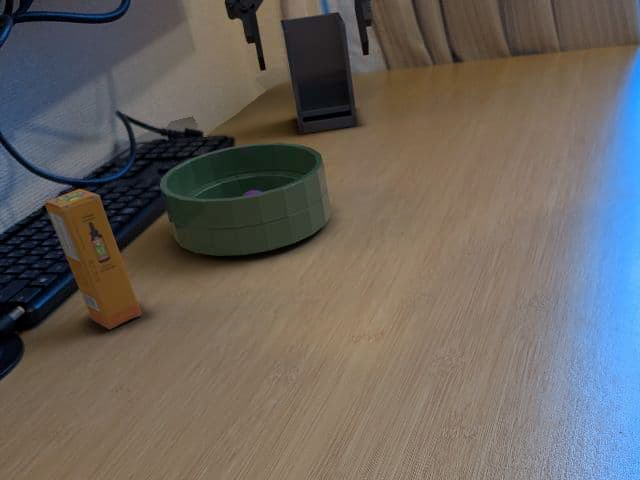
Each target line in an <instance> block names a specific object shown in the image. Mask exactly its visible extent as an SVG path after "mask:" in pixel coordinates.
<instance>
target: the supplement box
mask: <svg viewBox="0 0 640 480" xmlns="http://www.w3.org/2000/svg"><path fill="white" fill-rule="evenodd" d="M44 206H45V208H46V212H47V214H48V216H49V219H50V221H51V223H52V226H53V228H54V230H55V233H56V236H57V238H58V241H59V243H60V245H61V248H62V250H63V252H64V255H65V257H66V260H67V262H68V265H69V268H70V270H71V272H72V275H73V277H74V279H75V282H76V284H77V287H78V289H79V292H80V295H81V297H82V299H83V301H84V303H85V305H86V308H87V311H88V313H89V315H90V318H91V320H92V321H93V322H95V323H97V324H98V325H101V326H102V327H103V328H106V329H108V330H112V329H114V328H116V327H118V326H120V325H122V324H123V323H126V322H128V321H130V320H133V319H135V318H138V317H140V316H142V310H141V308H140V306H139V303H138V299H137V297H136V294H135V292H134V288H133V286H132V283H131V280H130V277H129V275H128V271H127V269H126V267H125V263H124V261H123V258H122V255H121V253H120V249H119V247H118V244H117V241H116V238H115V236H114V232H113V230H112V227H111V225H110V222H109V220H108V216H107V214H106V211H105V207H104V205H103V203H102V199H101V196H100V194H97V193H94V192H91V191H88V190H85V189H82V188H78V189H75V190H72V191H70V192H67V193H65V194H62V195H59V196H57V197H54V198H51V199H49V200H46V201H45V202H44Z"/></svg>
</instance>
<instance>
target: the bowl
mask: <svg viewBox="0 0 640 480" xmlns="http://www.w3.org/2000/svg"><path fill="white" fill-rule="evenodd" d="M159 190H160V194H161V197H162V200H163V204H164V207H165V210H166V213H167V218H168V222H169V224H170V228H171V231H172V235H173V238H174V240H175V241H176V242H177V244H178V245H179V246H180V247H181V248H182V249H185V250H187V251H190V252H192V253H195V254H200V255H206V256H208V255H209V256H215V257H218V256H219V257H221V256H225V257H226V256H245V255H246V256H247V255H253V254H259V253H265V252H270V251H273V250H277V249H281V248H284V247H287V246H290V245H292V244H295V243H297V242H300V241H301V240H304V239H306V238H308V237H310V236H312V235H315V233H316V232H318V231H319V230H320V229H322V228H324V226H326V225H327V223H328V221H329V219H330V218H331V215H332V210H331V204H330V197H329V196H330V195H329V190H328V183H327V176H326V171H325V164H324V160H323V156H322V154H321V153H320V152H319V151H317V150H315V149H314V148H313V147H310V146H305V145H301V144H297V143H287V142H286V143H285V142H263V143H262V142H261V143H249V144H243V145H237V146H231V147H225V148H221V149H217V150H213V151H209V152H205V153H203V154H200V155H197V156H194V157H192V158H189V159H186V160H185V161H183V162H181V163H179V164H178V165H176V166H174V167H172V168H171V169H169V170H168V171H167V172H166V173H165V174H164V175H163V176H162V177H161V178H160V184H159ZM251 190H258V191H261V192H262V193H258V194H254V195H247V196H243V194H245V193H246V192H248V191H251Z"/></svg>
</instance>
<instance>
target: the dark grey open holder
mask: <svg viewBox="0 0 640 480" xmlns="http://www.w3.org/2000/svg"><path fill="white" fill-rule="evenodd" d="M279 23H280V27H281V32H282V39H283V46H284V50H285V56H286V57H285V58H286V63H287V69H288V74H289V79H290V80H289V81H290V86H291V93H292V98H293V104H294V109H295V116H296V120H297V125H298V129H299V134H300V135H305V134H313V133H318V132H323V131H324V132H325V131H331V130H336V129H338V130H339V129H345V128H351V127H357V126H359V123H358V115H357V108H356V101H355V91H354V83H353V75H352V68H351V60H350V51H349V43H348V35H347V28H346V27H347V26H346V22H345V21H344V18H342V15H341V13H340V12H339V11H336V12H329V13H322V14H315V15H307V16H301V17H293V18H288V19H281V20H280V21H279Z"/></svg>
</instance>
